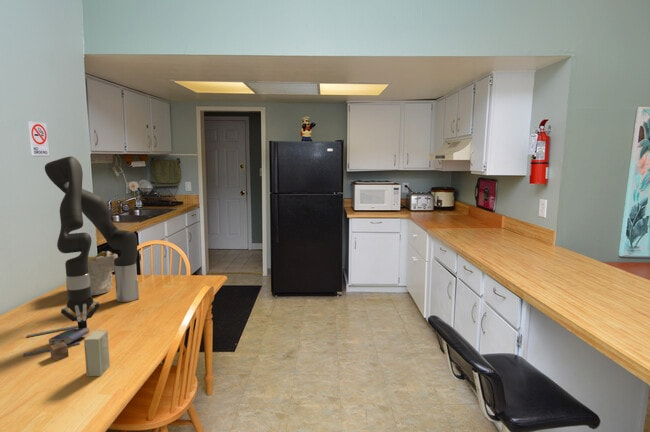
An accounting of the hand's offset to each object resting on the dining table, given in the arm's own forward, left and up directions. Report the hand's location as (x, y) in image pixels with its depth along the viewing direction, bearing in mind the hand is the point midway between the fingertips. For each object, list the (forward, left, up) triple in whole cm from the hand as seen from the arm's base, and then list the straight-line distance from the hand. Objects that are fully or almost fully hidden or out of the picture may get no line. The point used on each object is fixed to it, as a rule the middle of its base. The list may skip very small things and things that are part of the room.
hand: (82, 329), depth 146 cm
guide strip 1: (+9, -8, -2) cm, 13 cm away
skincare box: (-3, +34, -2) cm, 34 cm away
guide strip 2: (+9, +9, -2) cm, 13 cm away
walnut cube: (+7, +16, -2) cm, 18 cm away
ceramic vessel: (-7, -55, -2) cm, 55 cm away
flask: (+1, +1, 0) cm, 1 cm away
